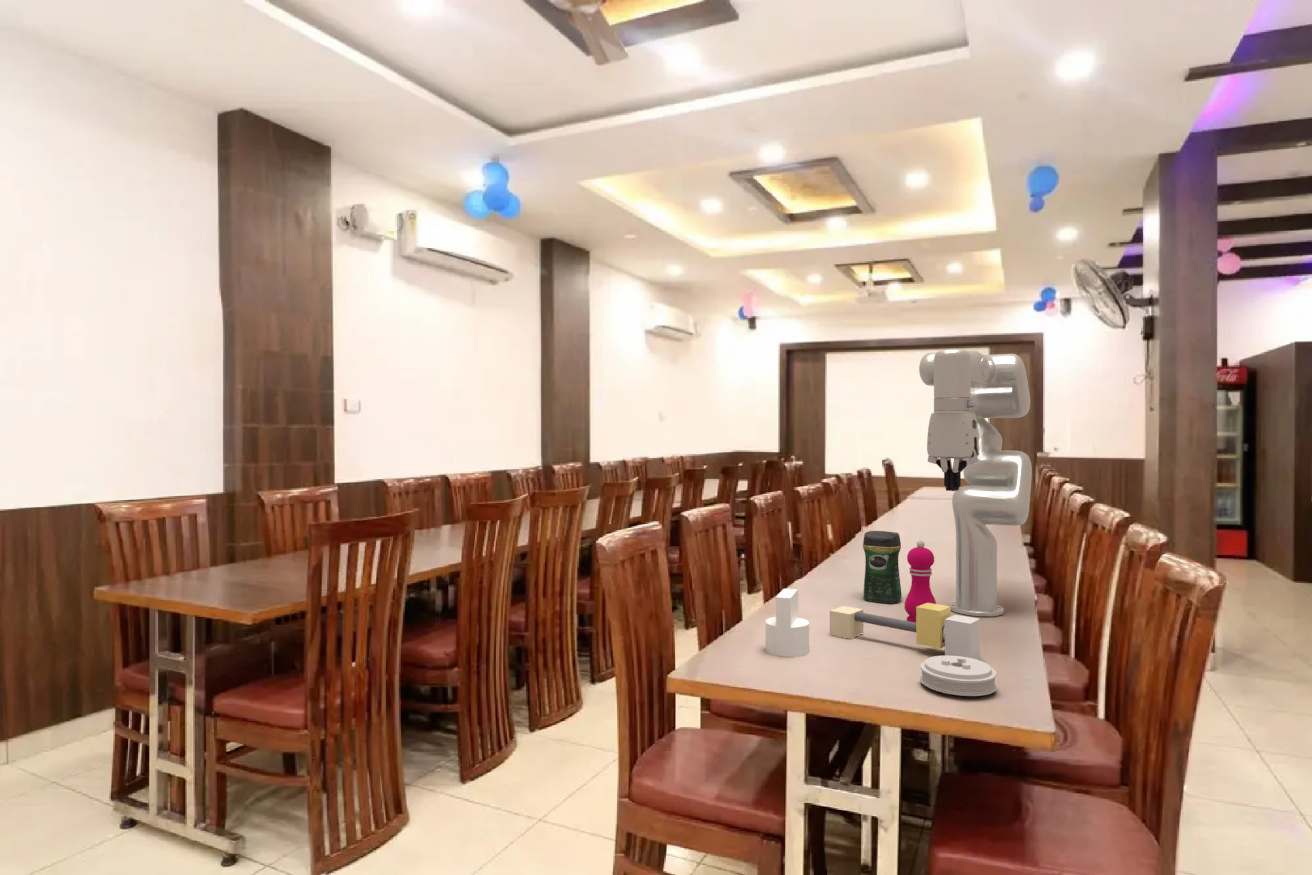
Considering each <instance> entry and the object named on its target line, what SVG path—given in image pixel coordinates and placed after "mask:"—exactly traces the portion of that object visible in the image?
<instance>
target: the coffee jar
mask: <svg viewBox="0 0 1312 875" xmlns="http://www.w3.org/2000/svg"><path fill="white" fill-rule="evenodd" d="M901 542H902V541H901V538H900V533H899V532H893V531H885V530H869V531H867V532H865V533H864V536H863V542H862V548H863V551H864V556H865V566H864V567H865V569H864V581H863V582H864V583H863V592H862V593H863V594H862V595H863V596H862V597H863V598H864V599H865V600H866V601H870V602H873V601H875V603H881V602H882V604H890V603H891V604H892V603H898V602H900V601H901V600H902V586H901V579H900V569H899V568H900V567H899V555H900V552H901V549H902V543H901Z"/></svg>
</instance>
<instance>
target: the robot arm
mask: <svg viewBox="0 0 1312 875" xmlns="http://www.w3.org/2000/svg"><path fill="white" fill-rule="evenodd" d="M918 366H919V367H918V370H919V371H918V372H919V377H920V379H921V381H922V382H923V384H924V385H926V386H930V387H933V413H932V412H931V414H930V417H929V421H928V428H927V430H928V431H927V438H926V439H927V440H926V441H927V442H926V451H927V452H926V453H927V455H928V456H927V462H928V463H930V464H934V465H937V466H938V467H939V468H940V469H941V472H942V473H943V482H944V483H943V485H944V487H945V491H947V492H950V491H951V492H953V494H952V498H951V500H952V501H951V504H952V511H953V516H954V517H953V518H954V525H955V561H956V562H955V571H956V572H955V576H956V577H955V588H956V589H955V601H952V602H951V603H949V606H951V612H953V613H956V614H961V615H965V616H970V617H971V616H973V617H982V618H983V617H998V616H1001V615H1003V614H1004V613H1005V608H1004V607H1003V606H1001V605H999V604H998V598H999V596H1000V593H999V592H998V542H997V539H996V537H995V536H994V534H993V533H992V531H991V530H990V529H989V528H988V526H989V525H997V526H1014V527H1015V526H1022V525H1024V524H1025V523H1026V522H1027V520H1028V517H1029V512H1030V501H1031V489H1032V479H1033V470H1032V467H1033V466H1032V461H1031V459H1030V457H1029V455H1028V453H1026V452H1024V451H1020V450H1011V449H1009V450H1007V449H1005V450H1002V447H1003V437H1002V435H1001V432H999V431H998V429H997V428H996V427H995V426H993V425H992V424H991V423H990V422H989V421H987V420H986V419H1018V418H1023V417H1025V416H1027V415H1028V413H1029V411H1030V409H1031V393H1030V387H1029V380H1028V376H1027V374H1028V373H1027V371H1026V366H1025V364H1024V361H1023V359H1022V357H1021V356H1019V355H1018V354H1016V353H1002V354H1001V353H998V354H983V353H982V352H980V351H977V350H966V349H962V348H961V349H960V348H959V349H957V348H955V349H953V348H952V349H942V350H939V351H936V352H928V353H926V354H924V355H923V356H922V358H921V360H920V362H919V365H918ZM952 459H953V464H952ZM962 472H963V478H964V481H965V482H966V483H967V484H969V485H963V486H961V485H962V482H961V481H962V480H961V477H962V475H961V473H962ZM987 525H988V526H987Z"/></svg>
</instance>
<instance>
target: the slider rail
mask: <svg viewBox="0 0 1312 875" xmlns="http://www.w3.org/2000/svg"><path fill="white" fill-rule="evenodd" d="M864 623H865V624H871V625H875V626H881V627H885V628H889V629H890V628H891V629H897V630H902V631H905V632H906V631H907V632H911V633H916V623H915V622H909V621H907V620H903V619H898V618H893V617H887V616H882V615H876V614H870V613H865V612H864V609H862V608H859V607H858V608H857V607H852V606H845V605H842V606H839V607H837V608H833V609H830V610H829V635H830V634H831V635H830V636H832V635H835V636H834V637H837V636H839V637H838V638H841V637H845V638H844V639H846V638H849V639H848V640H851V639H850V638H852V637H854V638H857V637H858V636H857V635H859V634H861V633H863V634H864ZM856 636H857V637H856ZM859 636H860V635H859ZM942 638H943V640H944V641H945V646H944V656H961V657H968V658H973V659H976V660H980V659H981V619H980V618H979V617H978V618H977V617H971V616H967V615H965V616H964V615H959V614H954V615H952V616H951V617H949V618H947V619H945V627H944V628H942ZM852 639H853V638H852Z"/></svg>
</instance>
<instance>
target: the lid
mask: <svg viewBox="0 0 1312 875" xmlns="http://www.w3.org/2000/svg"><path fill="white" fill-rule="evenodd" d="M919 668H920V670H921V676H920V682H921V685H924V686H925V687H927V688H928V689H931V690H934V691H936V692H940V693H942V694H948V695H953V696H954V695H955V696H965V697H979V696H987V695H990V694H992V693H993V694H994V692H996V691H997V688H998V687H997V684H996V682H995V679H996V677H997V676H998V674H997V671H996V670H995V669H994V668H992V666H991V665H990V664H988V663H987V662H985V661H982V660H980V659H978V660H976V659H973V658H968V657H961V656H945V655H935V656H930V657H928V658H926V659H925V660H924V661H922V662H921V663H920V667H919Z"/></svg>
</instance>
